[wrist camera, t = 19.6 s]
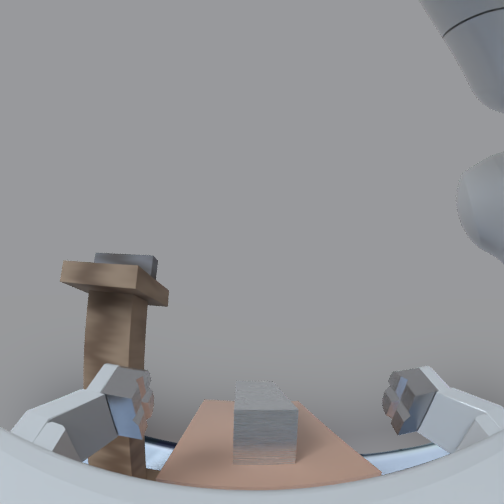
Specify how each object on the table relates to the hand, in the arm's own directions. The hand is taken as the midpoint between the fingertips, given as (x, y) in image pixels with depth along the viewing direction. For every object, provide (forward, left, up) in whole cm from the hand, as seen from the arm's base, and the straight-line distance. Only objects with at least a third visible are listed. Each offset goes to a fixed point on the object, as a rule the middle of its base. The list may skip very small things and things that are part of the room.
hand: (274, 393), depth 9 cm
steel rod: (0, -10, -4) cm, 11 cm away
